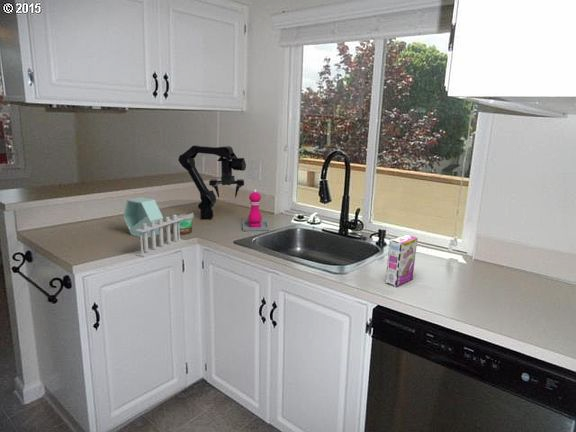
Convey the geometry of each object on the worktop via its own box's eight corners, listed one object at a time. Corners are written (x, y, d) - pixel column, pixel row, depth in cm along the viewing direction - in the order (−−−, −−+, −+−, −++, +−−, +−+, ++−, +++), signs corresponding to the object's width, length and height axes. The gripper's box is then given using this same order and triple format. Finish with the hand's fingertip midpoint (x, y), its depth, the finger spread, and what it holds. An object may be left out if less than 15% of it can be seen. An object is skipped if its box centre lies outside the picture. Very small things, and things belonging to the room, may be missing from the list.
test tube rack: (143, 257, 161) (141, 226, 157) (135, 255, 163) (133, 224, 159) (185, 241, 182) (183, 214, 179) (177, 240, 184) (176, 212, 181)
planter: (136, 245, 189) (117, 207, 190) (149, 241, 196) (131, 204, 197) (155, 231, 180) (136, 191, 181) (168, 227, 186) (149, 189, 188)
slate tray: (242, 231, 201) (242, 227, 200) (242, 224, 213) (242, 221, 213) (268, 231, 202) (268, 227, 202) (267, 224, 215) (267, 221, 214)
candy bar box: (396, 287, 137) (401, 243, 133) (384, 283, 141) (388, 239, 137) (413, 279, 145) (418, 237, 141) (401, 275, 148) (405, 234, 144)
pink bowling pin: (261, 224, 211) (262, 188, 207) (261, 228, 204) (261, 190, 200) (248, 224, 211) (248, 188, 206) (247, 228, 204) (247, 190, 199)
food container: (176, 237, 188) (175, 216, 186) (170, 234, 193) (169, 214, 190) (199, 232, 196) (198, 213, 194) (193, 230, 201) (192, 211, 198)
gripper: (208, 171, 205) (208, 200, 209) (244, 171, 207) (244, 200, 211) (209, 168, 216) (210, 196, 220) (243, 169, 218) (244, 196, 222)
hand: (227, 197), depth 218 cm, fingers open, 9 cm apart
